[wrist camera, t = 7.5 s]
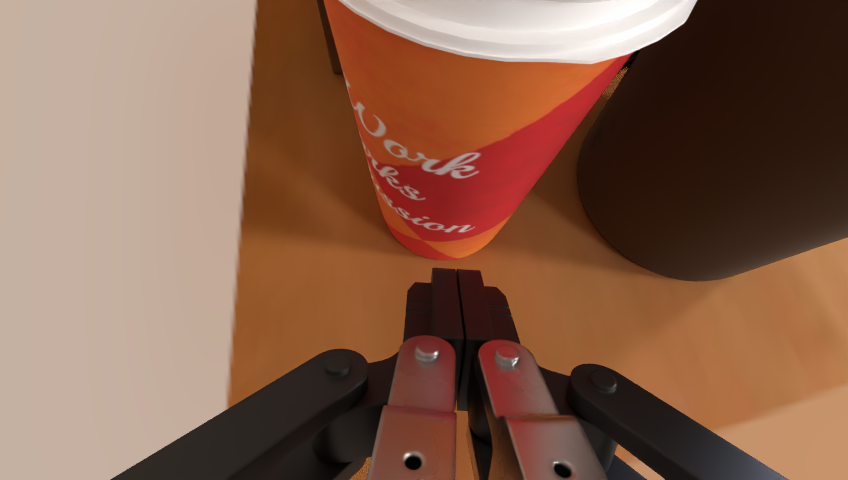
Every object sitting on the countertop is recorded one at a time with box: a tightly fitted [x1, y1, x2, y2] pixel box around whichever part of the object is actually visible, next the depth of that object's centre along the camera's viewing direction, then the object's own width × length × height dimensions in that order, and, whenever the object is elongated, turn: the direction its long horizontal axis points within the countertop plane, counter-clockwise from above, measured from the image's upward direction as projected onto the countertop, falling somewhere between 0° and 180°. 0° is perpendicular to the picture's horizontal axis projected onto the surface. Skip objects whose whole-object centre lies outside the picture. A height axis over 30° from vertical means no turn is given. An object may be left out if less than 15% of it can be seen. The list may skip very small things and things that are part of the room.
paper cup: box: [324, 0, 697, 260], centre depth 13 cm, size 8×8×14 cm
